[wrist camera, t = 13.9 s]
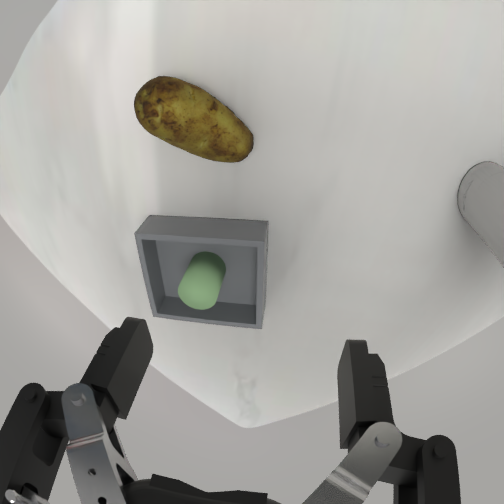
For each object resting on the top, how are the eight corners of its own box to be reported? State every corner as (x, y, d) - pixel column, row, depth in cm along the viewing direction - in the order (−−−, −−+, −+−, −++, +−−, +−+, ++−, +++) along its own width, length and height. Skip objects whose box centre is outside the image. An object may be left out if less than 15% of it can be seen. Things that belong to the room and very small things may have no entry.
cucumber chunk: (225, 252, 43) (215, 280, 38) (226, 282, 46) (218, 311, 41) (189, 250, 43) (175, 276, 38) (192, 279, 46) (180, 307, 41)
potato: (208, 178, 39) (188, 205, 32) (145, 97, 34) (111, 107, 27) (264, 142, 35) (256, 161, 29) (198, 54, 31) (174, 51, 24)
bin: (268, 221, 41) (264, 241, 37) (265, 305, 48) (261, 329, 44) (149, 215, 42) (134, 233, 38) (163, 295, 50) (153, 316, 46)
